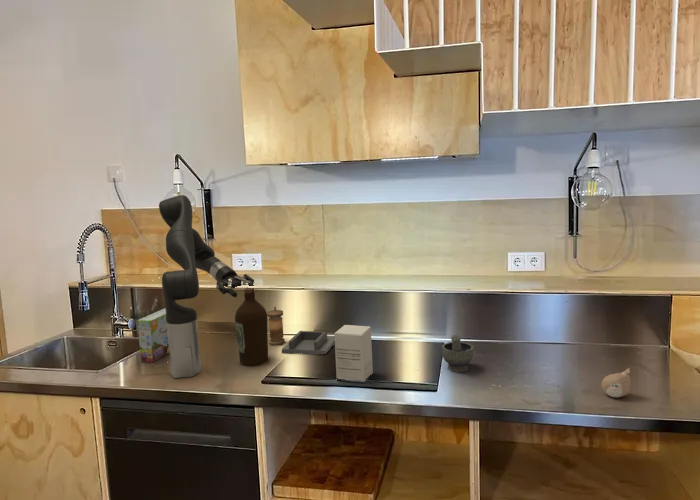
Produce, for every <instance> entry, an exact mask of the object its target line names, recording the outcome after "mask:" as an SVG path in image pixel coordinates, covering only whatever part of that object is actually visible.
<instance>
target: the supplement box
mask: <svg viewBox="0 0 700 500" xmlns="http://www.w3.org/2000/svg"><path fill="white" fill-rule="evenodd" d="M371 327H372V326H369V325H367V326H366V325H353V324H352V325H351V324H344V325H342V327H341V328H339V329H338V330H337V331H335V332H334V337H333V338H335V344H334V350H335V351H334V354H335V372H336V373H335V374H336V379H337V378H338V379H345V380H356V381H365V380H366V379H367V378H368V377H369V376H370V375H371V376H372V375H373V374H374V370H373V369H374V368H373V349H372V345H373V344H372V328H371ZM371 376H370V377H371ZM370 377H369V378H370ZM369 378H368V379H369ZM368 379H367V380H368Z"/></svg>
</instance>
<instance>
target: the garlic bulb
mask: <svg viewBox="0 0 700 500" xmlns="http://www.w3.org/2000/svg"><path fill="white" fill-rule="evenodd" d="M630 371H631V369H630V367H628V368H626V369H625V370H624V371H622V372H616V373H610V374H608V375H606V376H604V378H603V379H602V381H601V384H600V385H601V386H600V387H601V390H603V392H604V394H606V395H608V396H609V397H612V398H621V397H625V396H627V395H628V394H629V393H630V390H631V384H632V383H631V382H632V381H631V380H632V379H631V376H630V375H629V374H630Z"/></svg>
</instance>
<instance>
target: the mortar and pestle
mask: <svg viewBox="0 0 700 500" xmlns="http://www.w3.org/2000/svg"><path fill="white" fill-rule="evenodd" d="M474 350H475V349H474V345H473V344H471V343H468V342H463V341H461V336H460V335H459V334H453V335H451V340H450V342H447V343H443V344H442V345H441V354H442V359H444V361H445V362H446V363H447V364H448V366H447V369H448V370H449V371H451V372H456V373H460V372H465V371H468V370H469V366H468V365H469V364H470V363H471V361H472V359H473V356H474Z"/></svg>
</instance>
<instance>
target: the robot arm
mask: <svg viewBox="0 0 700 500" xmlns="http://www.w3.org/2000/svg"><path fill="white" fill-rule="evenodd" d="M158 203H159V204H158V211H159V213H160V216H161V217H162V219H163V222H164V223H166V225H167V226H168V227H169V229H168V230H167V234H166V237H165V250H166V254H167V255H168V256H169V258H170V259H171V260H173V261H174V263H175V264H177V265H178V266H180V267H181V268H182V269H181V270H180V269H179V270H169V271H165V272H163V274H162V276H161V288H162V292H163V300H164V308H165V309H166V322H167V333H168V344H169V353H168V354H169V365H170V373H171V376H172V377H173V379H176V378H178V379H179V378H190V377H191V378H192V377H194V376H195V375H197V374H199V373H200V372H201V371H202V363H201V362H202V361H201V351H200V350H201V349H200V340H199V339H200V338H199V330H198V329H199V328H198V316H197V315H198V314H197V311H196V310H195V309H194V308H192V307H187V306H183V305H181V304H178V303H177V302H176V301H180V300H190V299H195V298H196V297H198V294H199V290H200V283H199V276H198V271H197V269H198V270H201V271H204V272H206V273H208V274H209V275H210V276H211V277H212V278H213V279H214V280H215V281H216V286H215V288H216V289H217V290H218V291H219V292H220V293H221V294H222V295H226V294H228V295H230V296H231V297H233V298H237V297H238V292H237V291H236V290H235V289H236V288H238V287H237V286H241V285H249V286H254V285H255V279H254V278H252V277H251V276H249V275H248V274H246V273H245V274H243V276H240V275H239V274H238V273H237V272H236V271H235V270H234V269H233V268H232V267H230V266H229V265H228V264H226V263H225V262H223V261H221V260H220V259H219V258H218V257H216V256H215V255H216V254H215V250H214V249H213V248H212V247H210V246H209V245H208V244H206V243H205V242H204V240H203V238H202V236H201V234H200V233H199V232H198V230H196V229H194V228H193V207H192V203H191V201H190V199H189V197H187V196H186V195H184V194H182V195H181V194H180V195H176V196H172V197H169V198H166V199H162V200H160V201H159V202H158ZM253 284H254V285H253ZM224 286H225V287H224ZM235 287H236V288H235Z"/></svg>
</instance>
